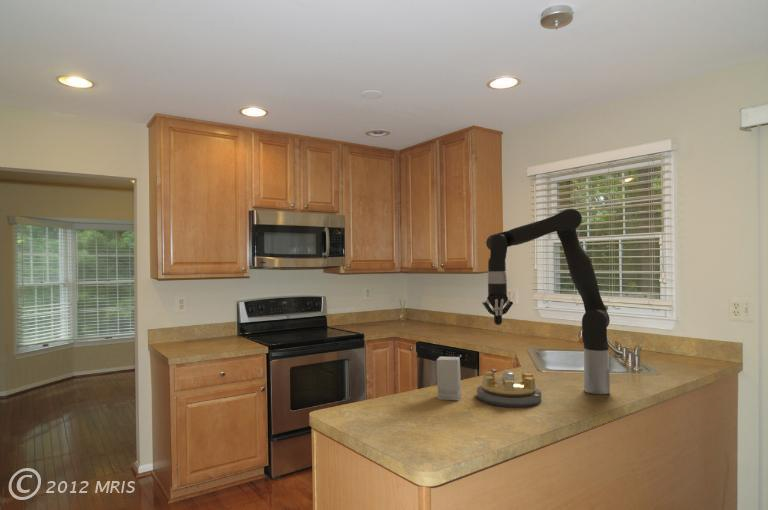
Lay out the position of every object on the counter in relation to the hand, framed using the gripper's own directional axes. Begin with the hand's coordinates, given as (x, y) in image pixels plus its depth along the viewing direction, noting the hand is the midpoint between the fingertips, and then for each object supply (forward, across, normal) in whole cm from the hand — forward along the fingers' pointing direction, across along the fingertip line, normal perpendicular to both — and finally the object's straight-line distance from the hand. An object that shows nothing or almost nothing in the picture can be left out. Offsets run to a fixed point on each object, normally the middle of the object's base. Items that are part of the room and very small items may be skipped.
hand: (498, 324), depth 205 cm
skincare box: (+27, +24, +9) cm, 37 cm away
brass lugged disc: (+24, +1, +13) cm, 27 cm away
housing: (+27, +1, +13) cm, 30 cm away
